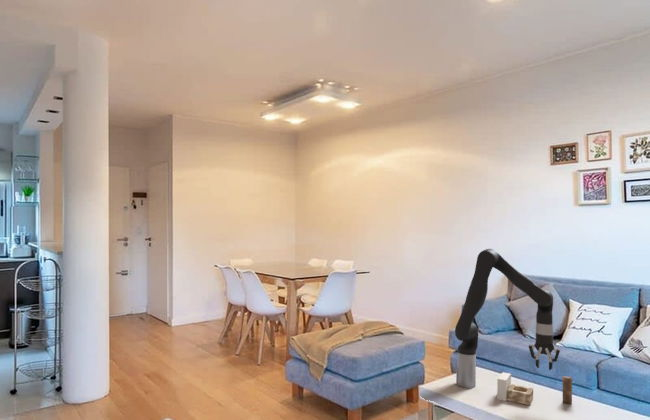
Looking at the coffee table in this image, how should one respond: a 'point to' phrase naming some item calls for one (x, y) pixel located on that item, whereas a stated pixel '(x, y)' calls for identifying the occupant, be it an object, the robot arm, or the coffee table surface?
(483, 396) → the coffee table surface
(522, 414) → the coffee table surface
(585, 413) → the coffee table surface
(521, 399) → the socket block
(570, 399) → the dowel
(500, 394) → the wall
